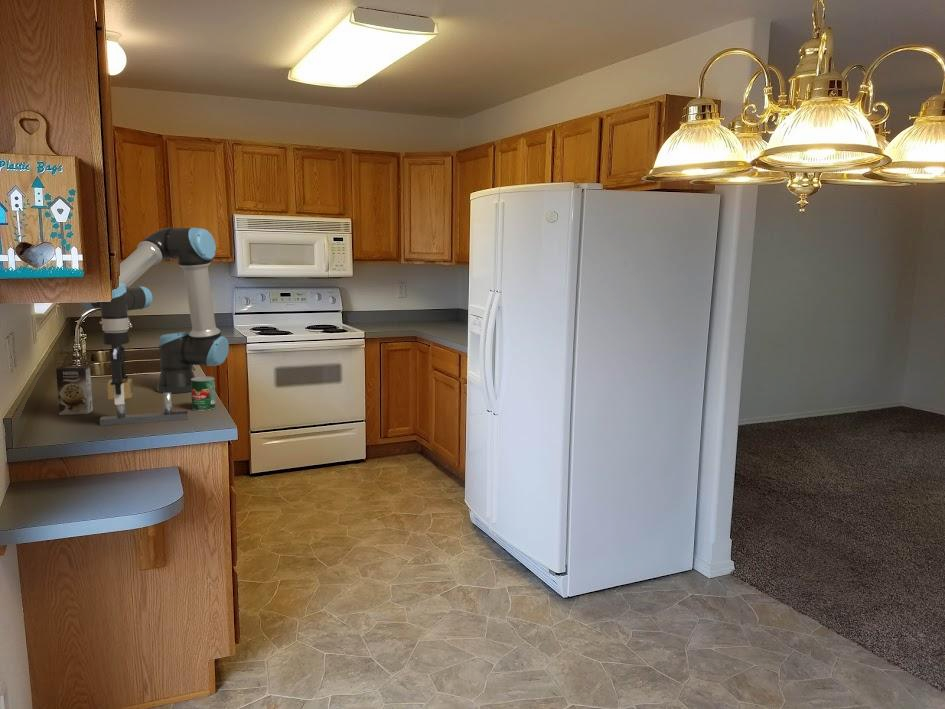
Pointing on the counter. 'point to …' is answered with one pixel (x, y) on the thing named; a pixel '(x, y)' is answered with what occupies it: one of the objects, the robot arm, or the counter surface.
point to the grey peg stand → (143, 418)
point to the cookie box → (74, 390)
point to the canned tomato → (203, 393)
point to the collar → (126, 386)
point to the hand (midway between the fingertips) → (121, 401)
